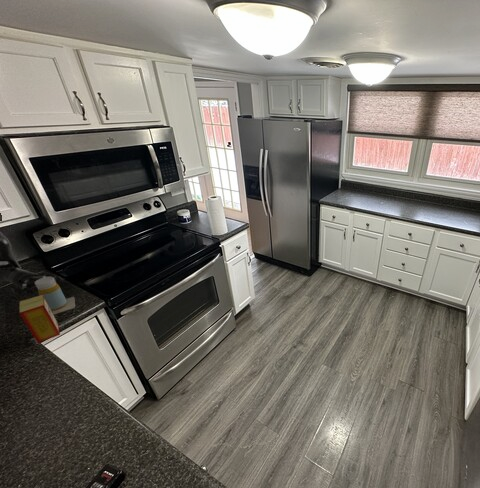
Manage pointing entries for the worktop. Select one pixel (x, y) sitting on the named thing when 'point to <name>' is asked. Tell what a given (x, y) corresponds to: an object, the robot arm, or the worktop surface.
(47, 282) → the bottle
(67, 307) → the mat
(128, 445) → the worktop surface
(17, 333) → the worktop surface
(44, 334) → the baking soda box
